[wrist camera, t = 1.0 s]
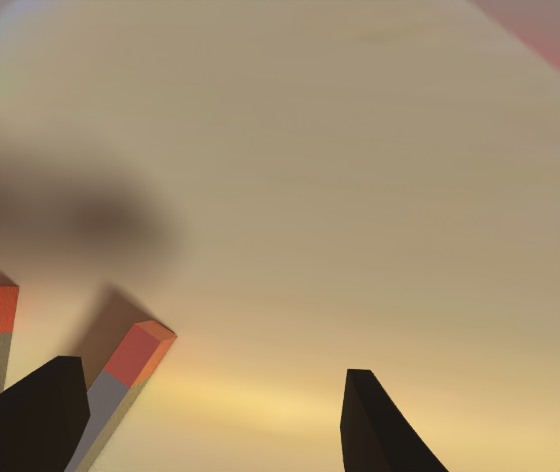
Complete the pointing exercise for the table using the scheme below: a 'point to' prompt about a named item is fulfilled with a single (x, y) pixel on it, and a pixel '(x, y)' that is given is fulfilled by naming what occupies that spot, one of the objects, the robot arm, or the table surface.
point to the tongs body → (6, 326)
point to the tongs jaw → (120, 387)
